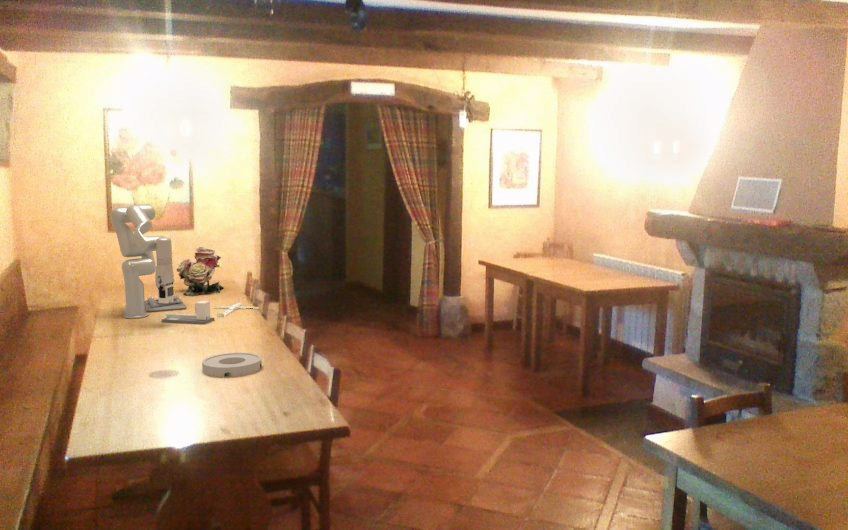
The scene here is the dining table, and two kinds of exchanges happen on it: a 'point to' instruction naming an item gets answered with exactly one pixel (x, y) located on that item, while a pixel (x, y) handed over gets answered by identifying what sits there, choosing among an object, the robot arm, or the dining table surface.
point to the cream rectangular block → (167, 294)
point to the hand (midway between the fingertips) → (165, 296)
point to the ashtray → (231, 364)
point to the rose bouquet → (200, 273)
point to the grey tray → (164, 305)
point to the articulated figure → (231, 309)
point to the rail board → (187, 321)
